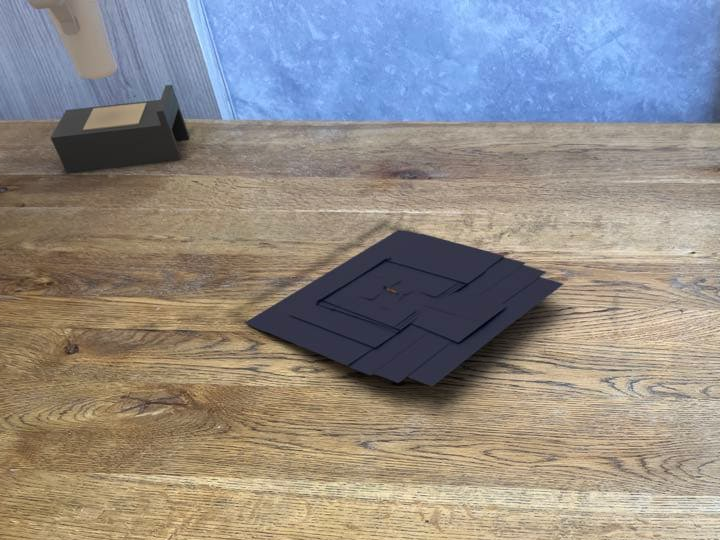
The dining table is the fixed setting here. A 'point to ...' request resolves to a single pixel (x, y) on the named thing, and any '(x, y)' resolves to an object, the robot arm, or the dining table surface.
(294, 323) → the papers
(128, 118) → the dark box with label
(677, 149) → the dining table surface
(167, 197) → the dining table surface
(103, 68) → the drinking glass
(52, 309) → the dining table surface
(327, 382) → the dining table surface
